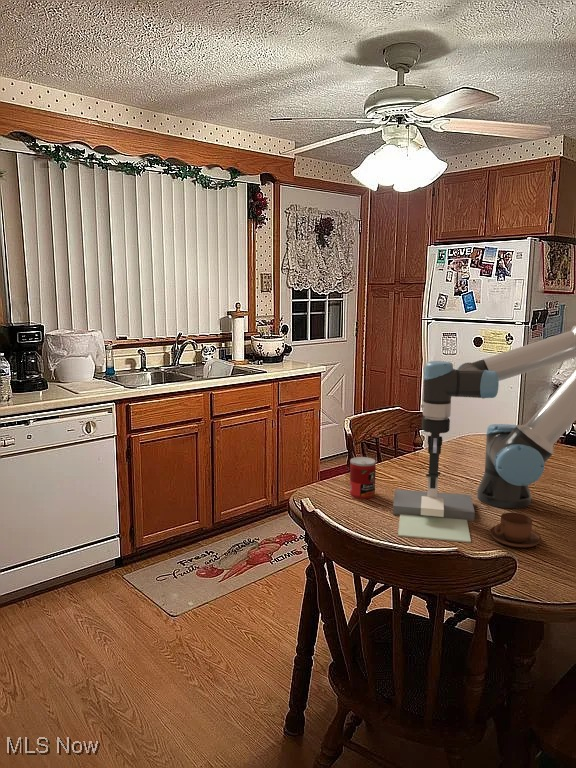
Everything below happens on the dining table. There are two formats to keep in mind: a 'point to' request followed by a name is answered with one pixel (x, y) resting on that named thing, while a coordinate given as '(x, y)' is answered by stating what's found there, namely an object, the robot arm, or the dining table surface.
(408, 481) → the dining table surface
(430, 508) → the cream flat block
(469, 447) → the dining table surface
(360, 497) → the canned food
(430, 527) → the sage mat
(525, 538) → the cup and saucer
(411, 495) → the plate
